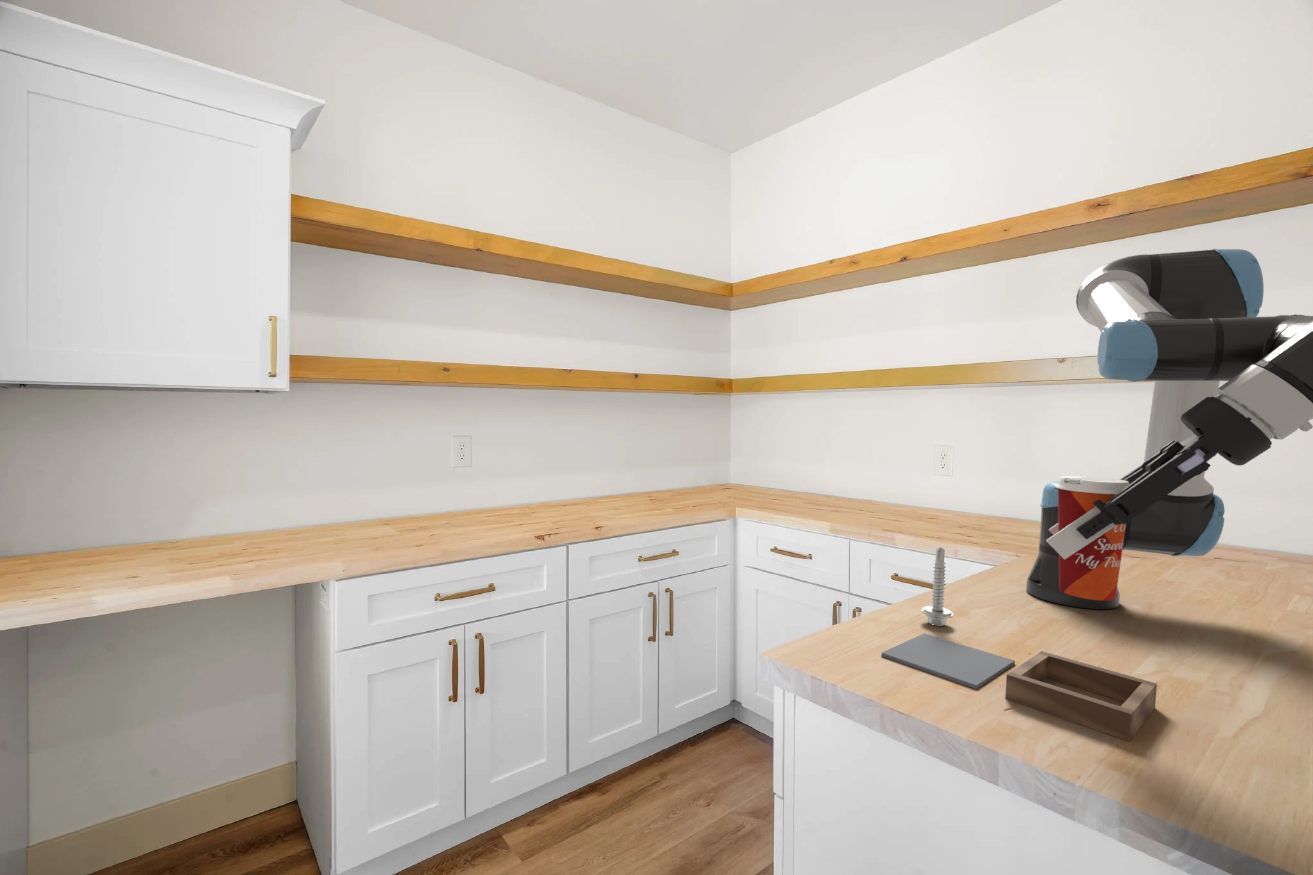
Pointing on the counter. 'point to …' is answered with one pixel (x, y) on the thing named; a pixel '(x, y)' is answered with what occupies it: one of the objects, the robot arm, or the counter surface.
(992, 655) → the slate mat
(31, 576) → the counter surface
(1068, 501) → the paper cup
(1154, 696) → the cup holder
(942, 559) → the screw
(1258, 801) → the counter surface
